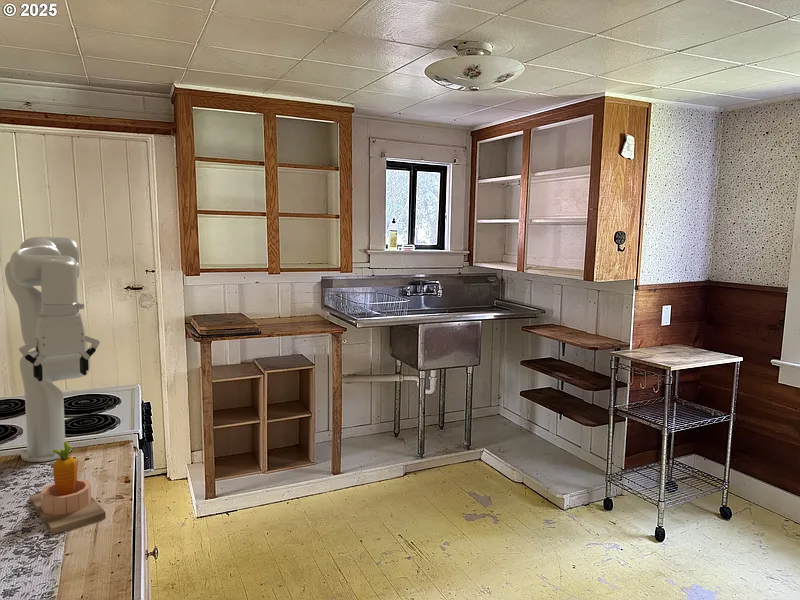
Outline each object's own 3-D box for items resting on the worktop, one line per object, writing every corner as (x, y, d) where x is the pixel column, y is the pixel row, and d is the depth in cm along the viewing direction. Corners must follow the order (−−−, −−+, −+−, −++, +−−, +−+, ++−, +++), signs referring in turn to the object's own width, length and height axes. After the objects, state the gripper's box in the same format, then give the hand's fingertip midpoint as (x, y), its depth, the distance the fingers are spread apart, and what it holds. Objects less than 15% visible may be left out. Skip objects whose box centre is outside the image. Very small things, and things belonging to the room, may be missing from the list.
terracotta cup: (37, 503, 133) (36, 487, 133) (83, 490, 140) (82, 475, 140) (48, 519, 126) (47, 502, 126) (96, 504, 133) (95, 489, 133)
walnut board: (29, 502, 136) (29, 496, 136) (79, 488, 144) (79, 483, 144) (51, 534, 122) (51, 528, 122) (105, 518, 130) (105, 512, 130)
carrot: (67, 510, 130) (65, 449, 128) (49, 507, 131) (47, 446, 129) (83, 500, 135) (81, 441, 133) (65, 497, 136) (64, 438, 134)
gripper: (93, 304, 145) (94, 368, 147) (14, 309, 132) (17, 378, 135) (103, 309, 139) (104, 375, 142) (21, 315, 127) (24, 386, 130)
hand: (61, 376), depth 139 cm, fingers open, 9 cm apart
